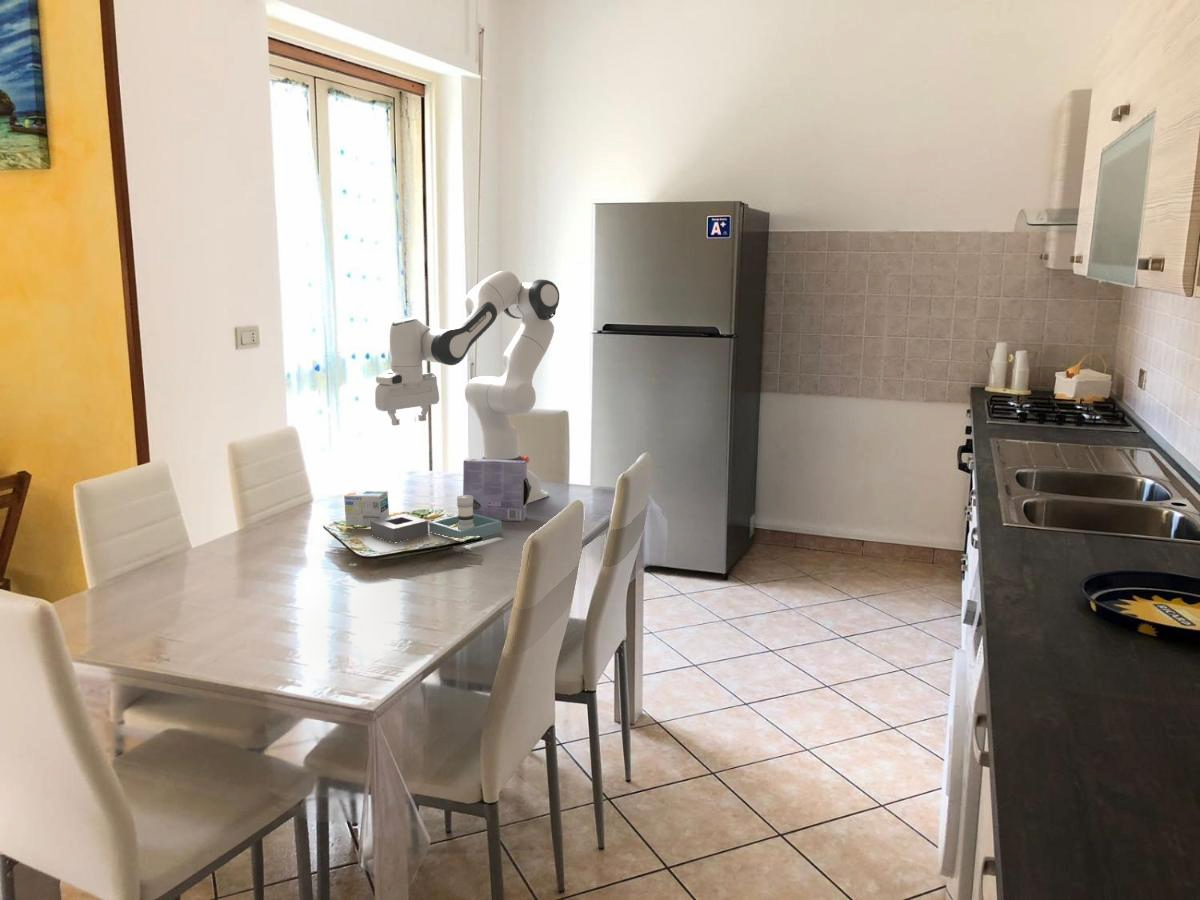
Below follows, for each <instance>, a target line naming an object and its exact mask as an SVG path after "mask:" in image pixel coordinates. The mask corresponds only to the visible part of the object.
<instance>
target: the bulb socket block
mask: <svg viewBox="0 0 1200 900" xmlns="http://www.w3.org/2000/svg"><path fill="white" fill-rule="evenodd" d="M370 525H371V530H370V536H371V535H373V536H372V537H374V536H375V538H377V537H379V538H382V539H384V540H383V541H385V540H387V541H386V542H388V541H391V542H393V543H392V544H394V543H395V542H399V543H401V542H400V541H403V542H405V541H404V540H407V539H411V540H413V539H412V538H415V539H418V538H417V537H419V538H422V537H426V536H428V535H429V521H428V520H427V519H425V518H421V517H418V516H414V515H411V514H408V513H400V514H396V515H391V516H389V517H386V518H382V519H378V520H373V521H370ZM427 534H428V535H427ZM425 535H426V536H425ZM421 536H422V537H421ZM379 538H378V539H379ZM382 539H381V540H382ZM407 541H408V540H407ZM391 542H390V543H391ZM395 544H396V543H395Z"/></svg>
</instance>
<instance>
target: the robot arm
mask: <svg viewBox="0 0 1200 900" xmlns="http://www.w3.org/2000/svg"><path fill="white" fill-rule="evenodd" d="M559 303H560V291H559V288H558V286H557V285H556V284H555V283H554V282H553V281H550V280H548V279H536V280H529V281H524V282H520V280H519V278H518V277H517V276H516V275H515V273H513V272H512V271H509V270H505V269H504V270H500V271H497V272H495V273H494V274H492V275H490V276H488V277H486V278H484V279H483V280H481V281H479V283H478V284H477V285H475V286H474V287H473V288H472V289H470V291H469V292H468V293H467V295H466V296H465V304H464V305H465V309H466V312H467V313H468V315H469V316H468V317H467V318H466V319H465V320H464V321H462V323H461V324H460V325H458V327H457V326H456V327H455V328H450V329H449V328H447V329H442V328H433V327H430V326H428V325H426V324H423V323H422V322H421V321H419V319H418V318H416V317H405V318H404V317H402V318H399V319H396V320H395V321H393V322H392V323H391V325H390V329H389V350H390V355H391V360H390V361H391V362H390V368H389V369H388V370H387V371H384V372H382V373H381V374H378V375H377V376H376V378H375V382H376V383H377V385H376V388H375V393H374V394H375V401H374V402H375V407H376V410H378V411H380V412H387V415H388V416H389V418H390V419H391V425H392V426H399V425H400V424H401V423H400V418H397V416H396V414H397V410H403V409H409V408H418V407H420V409H421V412H420V414H417V415H418V421H419V422H425V421H427V414H428V412H429V410H430V406H432V405H437V404H438V403H439V401H440V393H439V392H440V391H439V387H438V379H437V376H436V375H435V374H434V373H433V372H427V373H423V361H424V362H425V361H426V362H432V363H440V364H444V365H447V366H455V365H458V364H459V363H461V362H462V361H463V360H464V359H465V357H466V355H467V354H468V352H469V350H470V348H471V346H472V345H474V344H475V342H476V341H477V340H478V339H479V338H480V337H481V336H482V335H483V334H484V333H485V332H486V331H487V330H488V329H489V328H490V327H491V326H492V324H494V322H495V321H496V319H497V317H498V316H499V315H500V314H501V313H503V312H504V314H506V316H508V317H510V318H512V319H521V323H520V326H519V329H517V332H516V333H515V334H514V336H513V338H512V340H511V341H510V343H509V345H508V347H506V350H505V351H504V352H503V356H502V361H503V362H502V363H503V364H504V367H505V371H504V374H502V376H492V375H483V376H477V377H473V378H472V379H470V380H469V381H468V382H467V383H466V386H465V389H464V397H465V400H466V402H467V404H468V405H469V406H470V407H471V408H472V409H473V411H474V413H475V416H476V418H477V420H478V422H479V426H480V429H481V434H482V446H483V447H482V448H483V449H482V451H483V456H482V458H481V459H494V460H515V461H527V464H528V463H529V462H530V459H531V458H530V457H529V456H525V455H522V456H521V455H520V451H519V450H520V439H519V436H520V435H519V431H518V429H517V428H516V427H515V426H514V424H512V421H510V418H509V415H512V416H515V415H523V414H528V413H529V412H530V411H532V410H533V408H534V407H535V403H536V399H537V396H536V395H537V393H536V390H535V388H534V386H533V379H534V376H535V373H536V370H537V369H538V367H539V365H540V363H541V361H542V359H543V358H544V356H545V354H546V352H547V351H548V348H549V347H550V345H551V342H552V339H553V335H554V332H555V327H554V324H553V322H552V321H551V319H553V317H554V316H555V315H556V312H557V308H558V305H559ZM527 479H528V482H529V486H530V494H529V498H528V500H527V503H526V505H528V504H530V503H533V502H536V501H538V500H541V499H543V498H544V499H545V498H548V497H549V493H548V492H547V491H546V490H543V489H541V481H540V478H539V477H538V476H537V475H536V474H534V473H533V472H532V471H530V470H529V469H527Z"/></svg>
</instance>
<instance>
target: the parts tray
mask: <svg viewBox="0 0 1200 900" xmlns="http://www.w3.org/2000/svg"><path fill="white" fill-rule="evenodd" d="M458 522H459V519H458V514H456V515H452V516H448V517H444V518H441V519H437V520H433V521H428V530H429V533H430V532H432V533H436V534H440V535H444V536H448V537H454V538H463V537H466V536H477V535H478V536H480V537H481V538H484V537H488V536H492V535H495V536H492V537H488V538H485V539H482V540H481V538H480V540H478V541H473V542H471V543H470V542H469V543H467V544H463V545H461V547H465V546H469V545H471V544H475V543H479V542H482V541H486V540H490V539H493V538H498V537H500V536H502V534H503V524H502V521H499V520H495V519H492V518H488V517H485V516H481V515H478V514H474V513H473V523H474V527H473V528H469V529H465V530H459V529H456V528H453V527H449V525H453V524H456V523H458ZM432 533H431V534H432ZM496 534H500V535H496Z"/></svg>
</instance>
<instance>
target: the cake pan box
mask: <svg viewBox="0 0 1200 900" xmlns="http://www.w3.org/2000/svg"><path fill="white" fill-rule="evenodd" d="M527 464H528V463H527V461H515V460H494V459H482V458H466V459H465V458H464V460H463V466H462V467H463V468H462V469H463V475H462V476H463V477H462V478H463V479H462V483H463V485H462V487H463V488H462V494H463V495H471V496H473V504H474V505H473V513H474V514H478V515H481V516H485V517H488V518H492V519H495V520H499V521H505V522H508V521H509V522H524V521H526V519H527V504H526V503H527V500H528V498H529V494H530V486H529V482H528V479H527V468H528V466H527Z"/></svg>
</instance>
